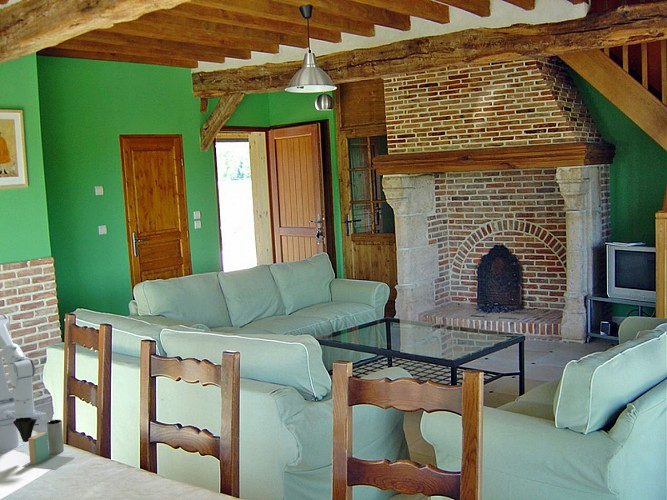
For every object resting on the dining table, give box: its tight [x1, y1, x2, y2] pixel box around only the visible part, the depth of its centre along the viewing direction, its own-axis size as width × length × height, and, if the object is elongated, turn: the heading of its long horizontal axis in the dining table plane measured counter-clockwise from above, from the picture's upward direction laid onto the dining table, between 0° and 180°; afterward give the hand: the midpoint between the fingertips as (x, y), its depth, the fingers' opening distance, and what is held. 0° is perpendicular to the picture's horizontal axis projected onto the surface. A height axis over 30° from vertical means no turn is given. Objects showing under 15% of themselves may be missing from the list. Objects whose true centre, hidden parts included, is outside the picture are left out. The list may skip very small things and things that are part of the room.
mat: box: [21, 454, 76, 471], centre depth 230 cm, size 12×10×1 cm
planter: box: [46, 419, 65, 455], centre depth 239 cm, size 4×4×10 cm
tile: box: [28, 431, 50, 464], centre depth 231 cm, size 2×6×8 cm, turn 163°
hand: (26, 440), depth 232 cm, fingers closed
